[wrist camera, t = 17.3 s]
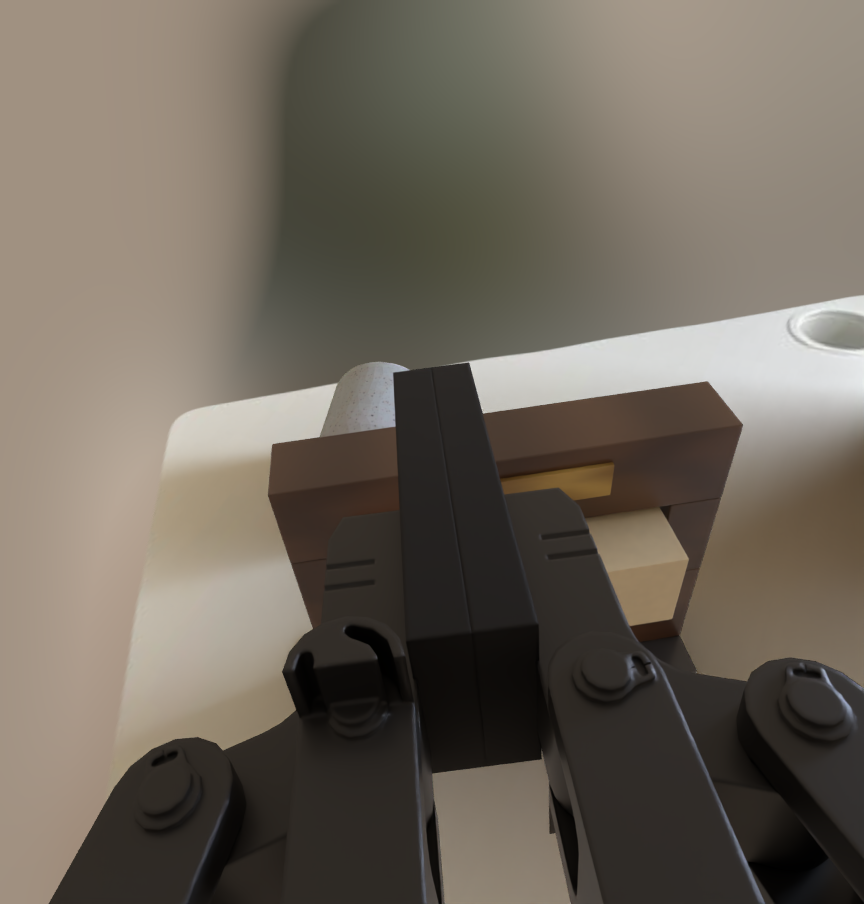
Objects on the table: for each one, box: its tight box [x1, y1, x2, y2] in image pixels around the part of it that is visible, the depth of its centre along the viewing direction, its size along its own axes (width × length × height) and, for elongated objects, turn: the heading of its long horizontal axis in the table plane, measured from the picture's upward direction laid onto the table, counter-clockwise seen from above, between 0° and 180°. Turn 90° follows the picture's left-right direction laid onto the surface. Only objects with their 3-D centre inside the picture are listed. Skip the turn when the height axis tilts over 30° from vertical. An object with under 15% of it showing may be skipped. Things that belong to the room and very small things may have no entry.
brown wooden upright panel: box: [268, 382, 743, 673], centre depth 30 cm, size 18×7×15 cm, turn 98°
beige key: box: [585, 507, 689, 626], centre depth 28 cm, size 4×4×4 cm
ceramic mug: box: [320, 362, 409, 437], centre depth 43 cm, size 11×8×8 cm
